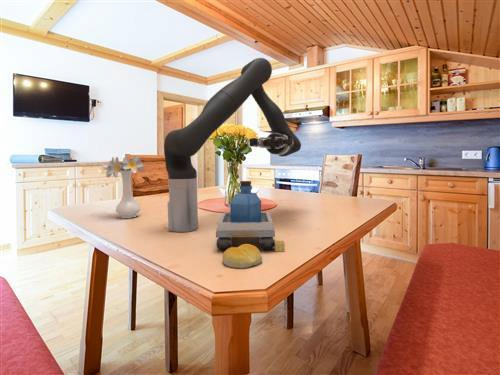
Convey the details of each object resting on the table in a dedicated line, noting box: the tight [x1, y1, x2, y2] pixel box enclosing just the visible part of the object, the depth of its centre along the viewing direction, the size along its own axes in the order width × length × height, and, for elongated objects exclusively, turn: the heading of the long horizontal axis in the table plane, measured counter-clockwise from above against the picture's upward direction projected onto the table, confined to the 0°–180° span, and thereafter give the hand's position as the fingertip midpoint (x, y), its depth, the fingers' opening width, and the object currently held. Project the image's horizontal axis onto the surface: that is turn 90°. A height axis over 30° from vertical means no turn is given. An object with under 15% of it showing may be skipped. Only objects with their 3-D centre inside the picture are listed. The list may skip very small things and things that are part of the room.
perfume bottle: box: [229, 180, 262, 222], centre depth 80 cm, size 6×6×12 cm
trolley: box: [215, 211, 286, 253], centre depth 80 cm, size 18×15×8 cm
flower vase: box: [101, 155, 147, 219], centre depth 116 cm, size 13×18×25 cm
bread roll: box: [222, 243, 263, 269], centre depth 67 cm, size 8×9×4 cm
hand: (265, 141), depth 90 cm, fingers open, 8 cm apart
